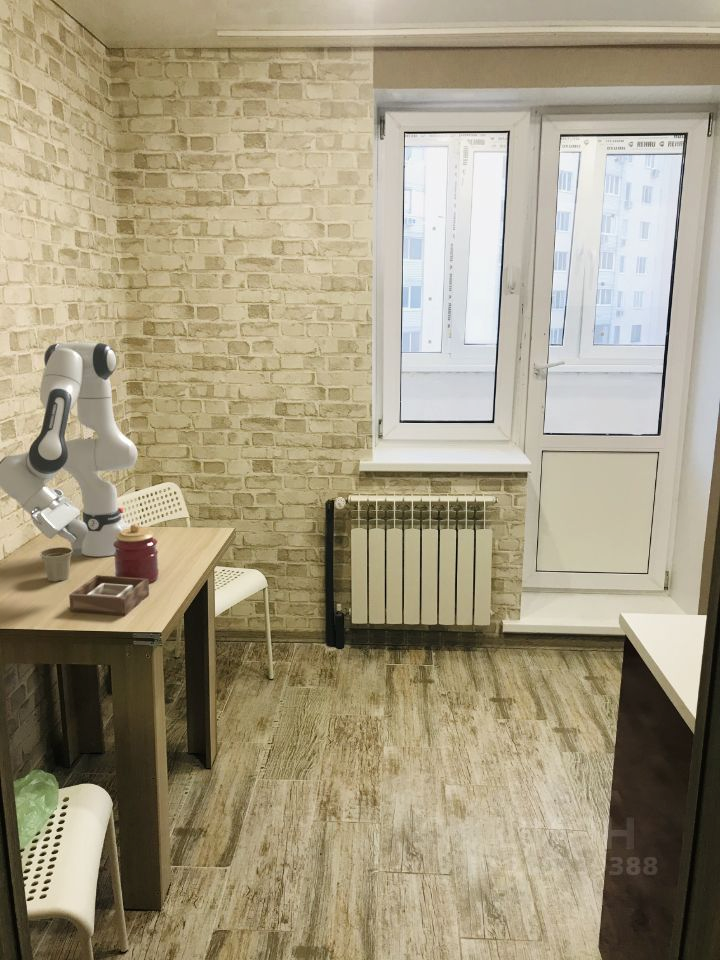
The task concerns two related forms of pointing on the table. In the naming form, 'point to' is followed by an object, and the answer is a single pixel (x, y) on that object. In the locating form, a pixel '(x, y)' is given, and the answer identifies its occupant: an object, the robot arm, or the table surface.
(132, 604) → the socket box
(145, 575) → the canister
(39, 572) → the table surface
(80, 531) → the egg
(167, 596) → the table surface
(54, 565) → the flower pot
